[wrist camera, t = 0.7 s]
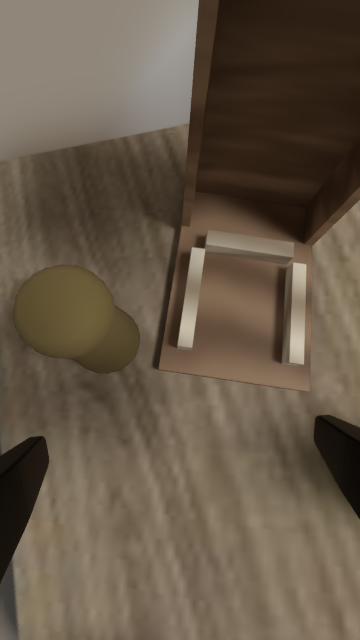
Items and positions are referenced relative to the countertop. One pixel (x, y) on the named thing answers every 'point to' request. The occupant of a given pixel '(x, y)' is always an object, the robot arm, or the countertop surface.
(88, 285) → the cork
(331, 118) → the wooden stand
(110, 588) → the countertop surface
